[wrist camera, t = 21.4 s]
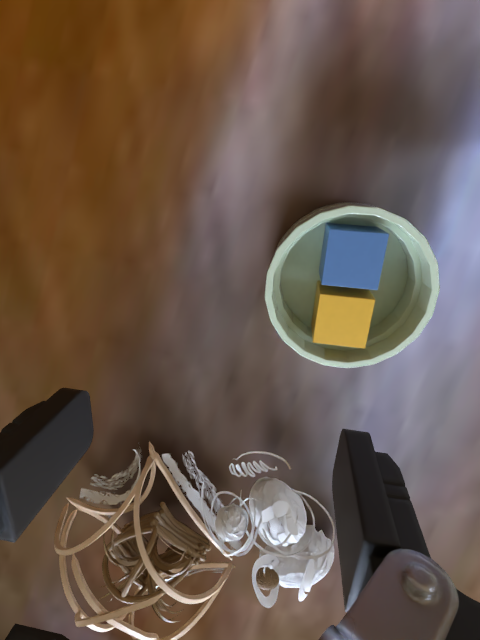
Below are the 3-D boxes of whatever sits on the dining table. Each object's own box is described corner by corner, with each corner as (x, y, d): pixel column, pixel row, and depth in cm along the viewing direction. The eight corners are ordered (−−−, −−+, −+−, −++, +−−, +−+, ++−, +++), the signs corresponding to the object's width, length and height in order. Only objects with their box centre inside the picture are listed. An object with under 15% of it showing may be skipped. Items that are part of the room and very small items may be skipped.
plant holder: (79, 402, 47) (-27, 498, 33) (352, 447, 42) (373, 588, 27) (96, 552, 57) (21, 678, 42) (320, 605, 52) (323, 772, 37)
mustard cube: (317, 280, 35) (319, 293, 31) (366, 284, 34) (375, 299, 30) (311, 324, 36) (312, 342, 32) (357, 329, 36) (365, 349, 32)
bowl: (277, 197, 33) (273, 200, 28) (435, 208, 31) (461, 213, 26) (264, 333, 38) (259, 357, 33) (399, 349, 37) (415, 377, 31)
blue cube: (325, 222, 33) (329, 229, 29) (377, 226, 32) (389, 233, 28) (318, 272, 34) (321, 284, 30) (368, 276, 34) (377, 290, 30)
